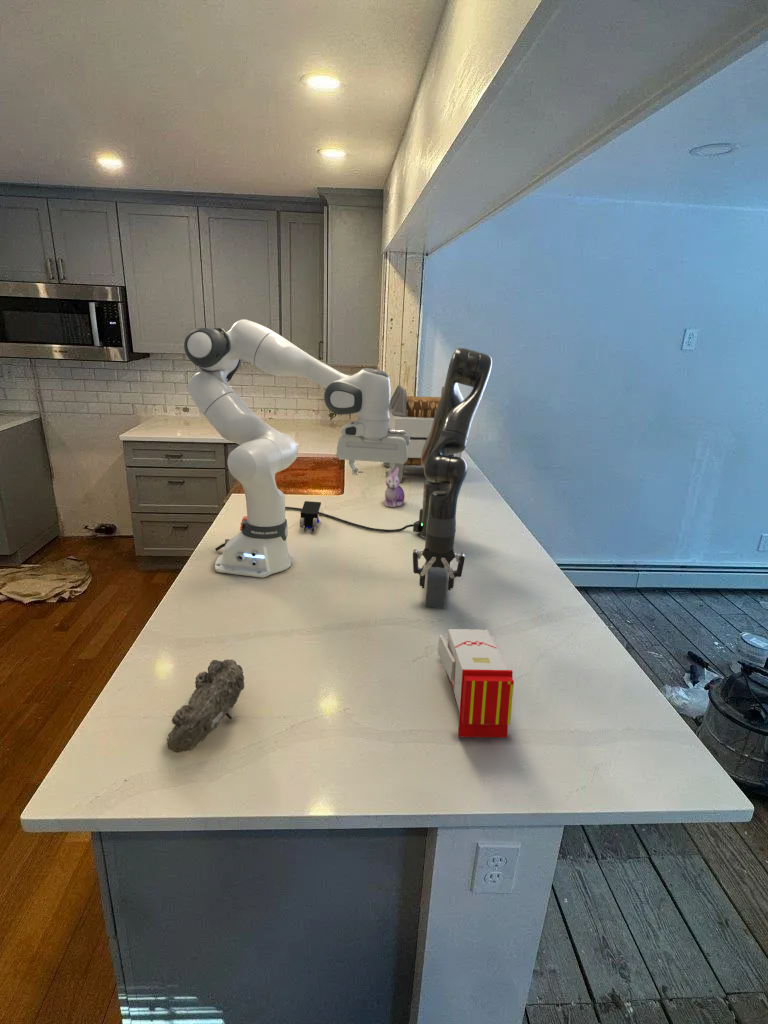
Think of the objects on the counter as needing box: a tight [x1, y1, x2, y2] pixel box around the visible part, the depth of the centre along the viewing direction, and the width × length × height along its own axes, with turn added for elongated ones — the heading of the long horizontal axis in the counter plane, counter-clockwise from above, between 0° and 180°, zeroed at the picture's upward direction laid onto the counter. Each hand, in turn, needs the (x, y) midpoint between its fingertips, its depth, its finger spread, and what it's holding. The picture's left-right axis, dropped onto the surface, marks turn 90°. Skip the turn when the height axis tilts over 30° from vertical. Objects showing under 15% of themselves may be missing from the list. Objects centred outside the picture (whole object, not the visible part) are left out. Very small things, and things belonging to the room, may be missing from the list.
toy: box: [437, 628, 515, 738], centre depth 117 cm, size 12×13×30 cm
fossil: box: [166, 658, 245, 754], centre depth 106 cm, size 22×10×15 cm
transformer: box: [382, 384, 463, 483], centre depth 268 cm, size 34×33×41 cm
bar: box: [425, 566, 448, 609], centre depth 163 cm, size 26×5×9 cm, turn 175°
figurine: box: [383, 467, 405, 508], centre depth 227 cm, size 9×10×15 cm
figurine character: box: [299, 500, 322, 533], centre depth 201 cm, size 7×8×15 cm
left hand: (371, 476), depth 163 cm, fingers open, 8 cm apart
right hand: (436, 588), depth 153 cm, fingers open, 6 cm apart
